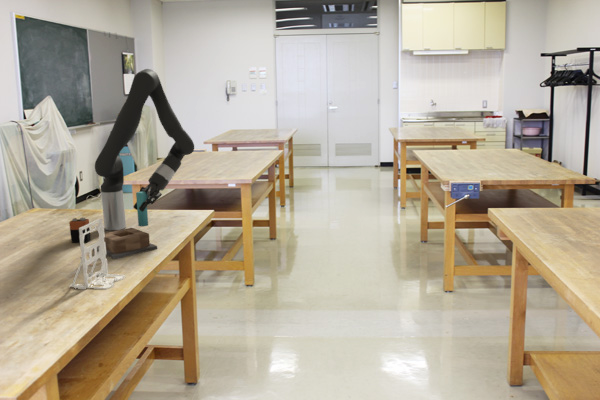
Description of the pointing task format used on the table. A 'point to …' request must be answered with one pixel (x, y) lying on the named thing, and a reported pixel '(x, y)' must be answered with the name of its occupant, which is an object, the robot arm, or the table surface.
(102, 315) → the table surface
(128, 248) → the socket block
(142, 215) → the peg
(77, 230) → the battery
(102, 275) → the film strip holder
